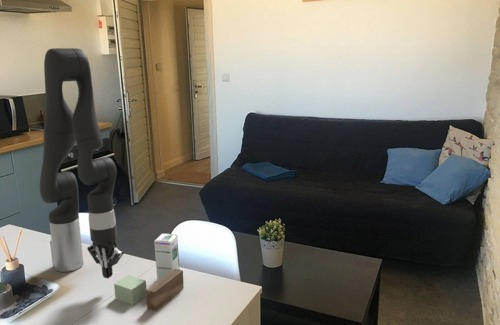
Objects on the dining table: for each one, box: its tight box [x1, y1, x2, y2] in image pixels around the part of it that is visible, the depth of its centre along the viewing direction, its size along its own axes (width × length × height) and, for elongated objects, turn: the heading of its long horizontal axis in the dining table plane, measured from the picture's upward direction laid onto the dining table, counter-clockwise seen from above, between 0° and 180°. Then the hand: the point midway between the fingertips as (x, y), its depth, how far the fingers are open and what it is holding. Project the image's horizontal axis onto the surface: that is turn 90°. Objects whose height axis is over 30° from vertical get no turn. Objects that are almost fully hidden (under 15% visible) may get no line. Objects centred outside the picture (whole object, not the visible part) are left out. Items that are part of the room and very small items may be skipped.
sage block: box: [113, 274, 147, 306], centre depth 129 cm, size 7×6×5 cm
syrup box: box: [154, 233, 181, 282], centre depth 138 cm, size 6×6×14 cm
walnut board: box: [145, 268, 185, 312], centre depth 128 cm, size 3×14×6 cm, turn 154°
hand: (107, 276), depth 132 cm, fingers closed
